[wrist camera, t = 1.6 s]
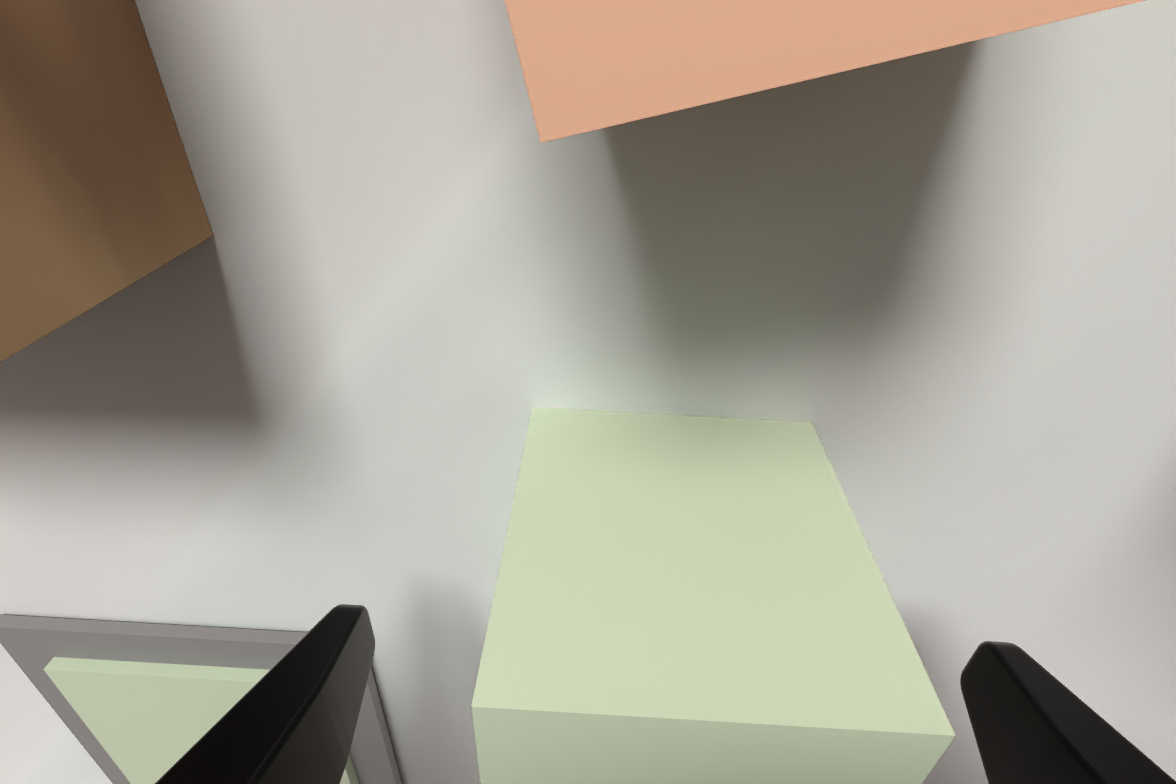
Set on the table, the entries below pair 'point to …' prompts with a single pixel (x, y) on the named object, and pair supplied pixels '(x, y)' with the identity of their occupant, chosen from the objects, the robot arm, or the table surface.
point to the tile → (165, 689)
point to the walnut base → (84, 164)
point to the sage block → (693, 615)
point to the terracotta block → (730, 47)
